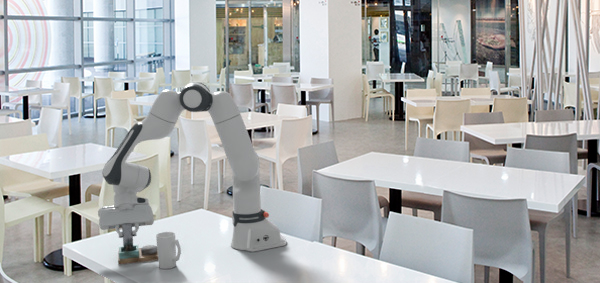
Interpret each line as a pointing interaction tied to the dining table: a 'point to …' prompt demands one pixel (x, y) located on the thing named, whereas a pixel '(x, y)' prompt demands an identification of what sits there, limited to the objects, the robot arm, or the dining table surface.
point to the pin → (127, 236)
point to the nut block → (137, 254)
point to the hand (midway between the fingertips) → (127, 236)
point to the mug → (167, 250)
